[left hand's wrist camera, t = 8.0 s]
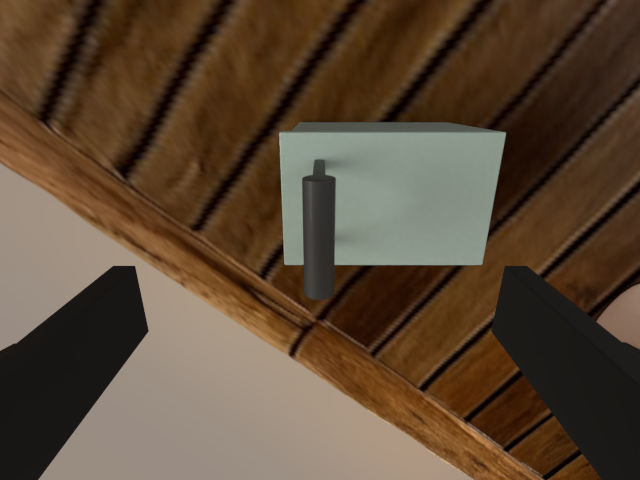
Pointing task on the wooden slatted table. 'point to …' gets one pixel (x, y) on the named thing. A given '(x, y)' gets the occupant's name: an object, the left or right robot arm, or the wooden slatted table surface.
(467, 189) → the lid
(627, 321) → the anatomical model
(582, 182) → the wooden slatted table surface
